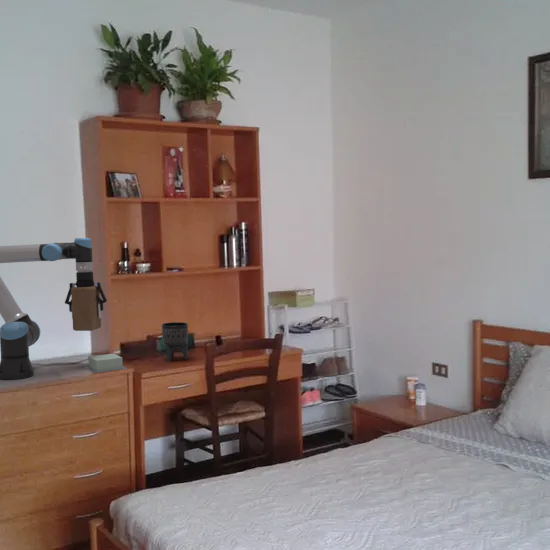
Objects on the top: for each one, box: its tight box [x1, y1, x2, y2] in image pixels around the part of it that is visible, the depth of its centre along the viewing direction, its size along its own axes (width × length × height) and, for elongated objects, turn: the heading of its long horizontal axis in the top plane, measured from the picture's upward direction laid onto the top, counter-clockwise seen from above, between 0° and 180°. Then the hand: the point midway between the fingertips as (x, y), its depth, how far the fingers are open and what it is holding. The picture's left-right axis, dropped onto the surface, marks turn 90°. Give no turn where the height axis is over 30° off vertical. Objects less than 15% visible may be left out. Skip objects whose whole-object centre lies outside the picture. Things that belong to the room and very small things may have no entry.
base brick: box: [88, 353, 124, 372], centre depth 310 cm, size 12×12×5 cm
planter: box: [161, 321, 189, 363], centre depth 333 cm, size 13×13×18 cm
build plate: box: [83, 365, 129, 374], centre depth 311 cm, size 16×16×1 cm
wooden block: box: [70, 285, 102, 332], centre depth 311 cm, size 10×10×20 cm
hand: (86, 318), depth 312 cm, fingers closed on wooden block, 11 cm apart
